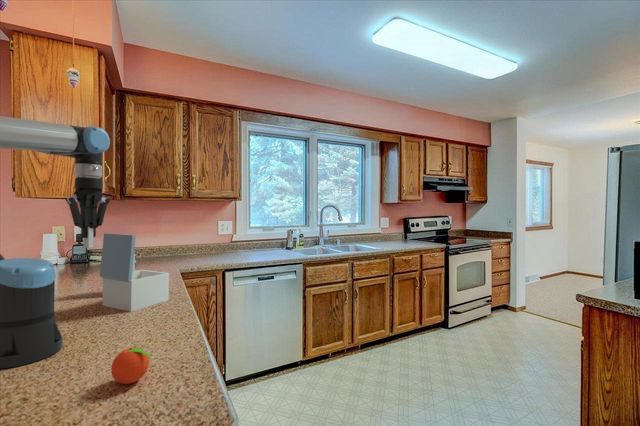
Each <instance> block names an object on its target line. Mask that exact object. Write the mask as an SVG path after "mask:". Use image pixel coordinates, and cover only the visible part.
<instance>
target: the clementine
mask: <svg viewBox="0 0 640 426" xmlns="http://www.w3.org/2000/svg"><path fill="white" fill-rule="evenodd" d="M150 362H152V359H151V355H149V353H148V352H147V351H145V350H144V349H141V348H139V347H129V348H126V349H124V350H122V351H121V352H120V353H118V354H117V355H116V356H115V358H114V359H113V361H112V363H111V369H110V370H111V371H110V372H111V376H112V378H113V380H115V381H116V382H117V383H119V384H122V385H130V384H134V383H136V382H137V381H139V380H140V379H142V378H143V377H144V376H145V374H146V373H147V371H148V369H149V366H150Z"/></svg>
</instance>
